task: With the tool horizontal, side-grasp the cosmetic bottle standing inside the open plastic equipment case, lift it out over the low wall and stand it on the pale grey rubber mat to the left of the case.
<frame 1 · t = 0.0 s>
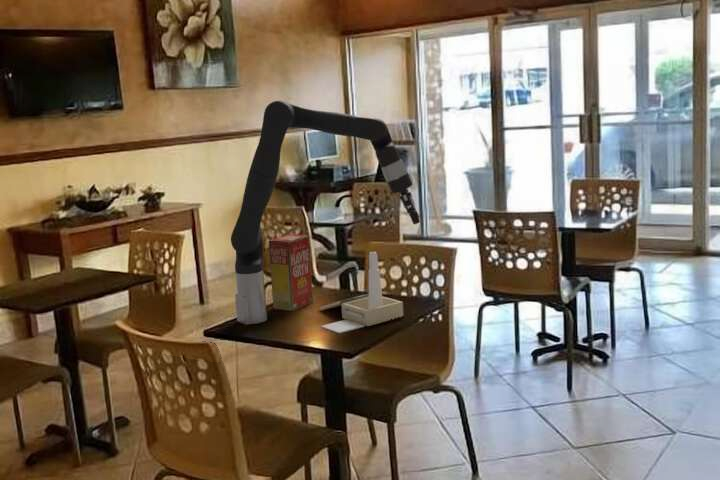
hand: (416, 221, 255), 31 cm above the table, tool tilted 20°, fingers open, 8 cm apart
cosmetic bottle: (376, 317, 260), resting in case
lid: (346, 301, 271), point 3 cm above the table, hinge at 200.0°
case: (372, 317, 260), on the table
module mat: (342, 326, 251), on the table
food packaging: (293, 306, 281), on the table
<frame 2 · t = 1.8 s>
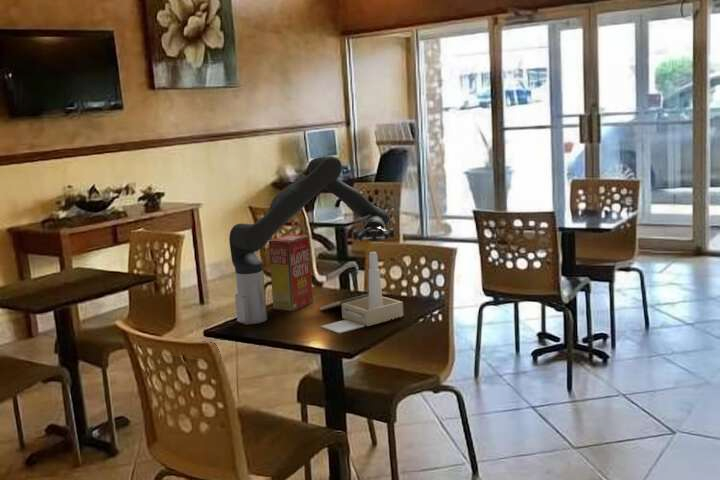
hand: (373, 237, 267), 25 cm above the table, tool horizontal, fingers open, 8 cm apart
nothing on the table moved.
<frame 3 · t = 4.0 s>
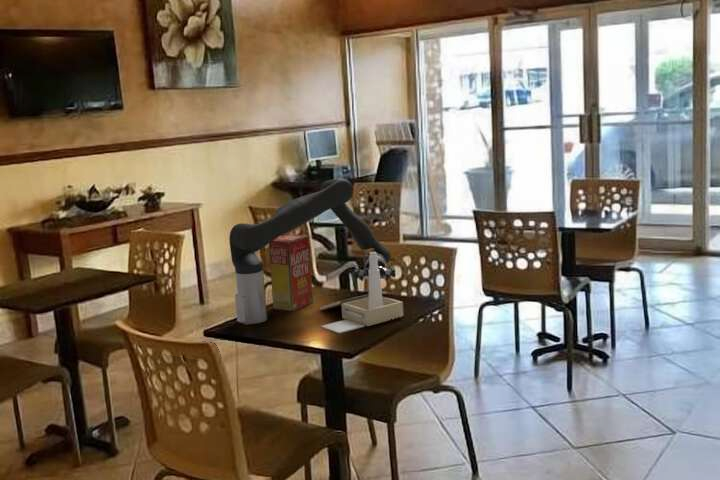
hand: (374, 277, 265), 12 cm above the table, tool horizontal, fingers open, 8 cm apart
nothing on the table moved.
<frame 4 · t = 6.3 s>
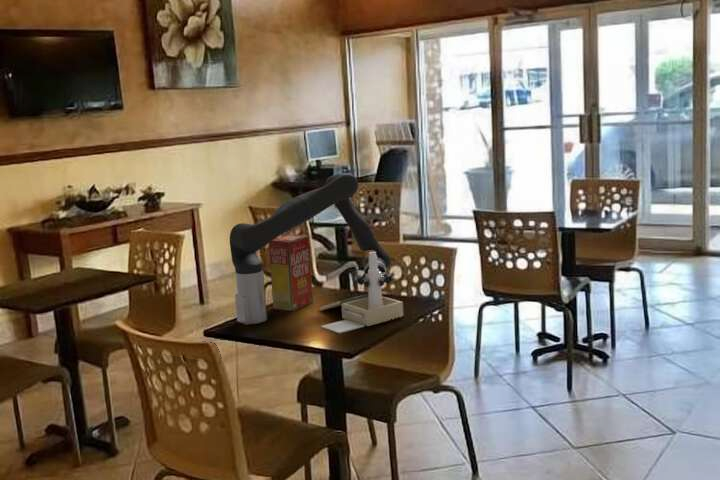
hand: (374, 283, 255), 12 cm above the table, tool horizontal, fingers closed on cosmetic bottle, 4 cm apart
cosmetic bottle: (376, 317, 260), resting in case, touching gripper
everything else where it was.
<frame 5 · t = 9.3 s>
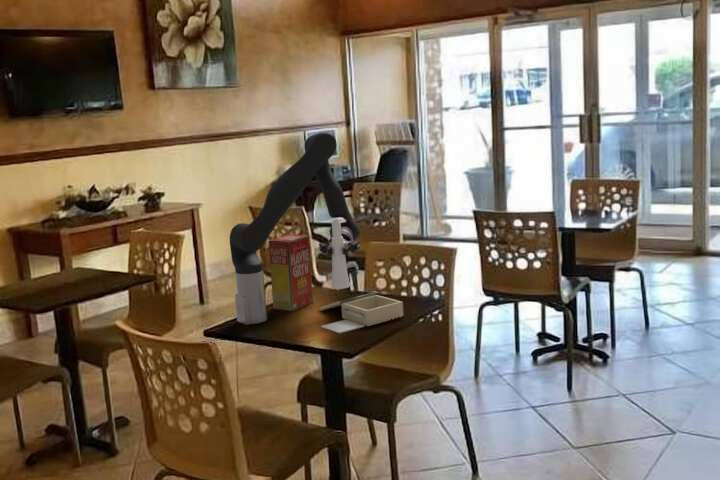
hand: (337, 251, 244), 25 cm above the table, tool horizontal, fingers closed on cosmetic bottle, 4 cm apart
cosmetic bottle: (340, 287, 249), point 13 cm above the table, touching gripper
everything else where it was.
when the fingers open (12 cm above the table, at t = 12.5 s): cosmetic bottle stays where it is, resting on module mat.
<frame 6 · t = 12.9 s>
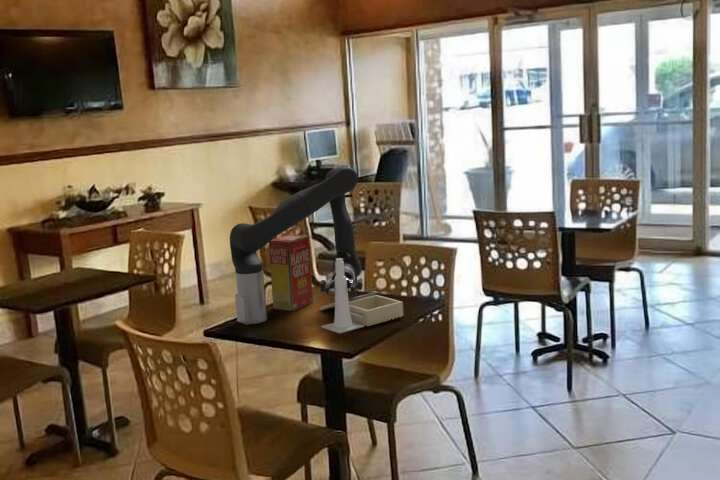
hand: (339, 290, 246), 13 cm above the table, tool horizontal, fingers open, 7 cm apart
cosmetic bottle: (343, 325, 251), resting on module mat
everything else where it was.
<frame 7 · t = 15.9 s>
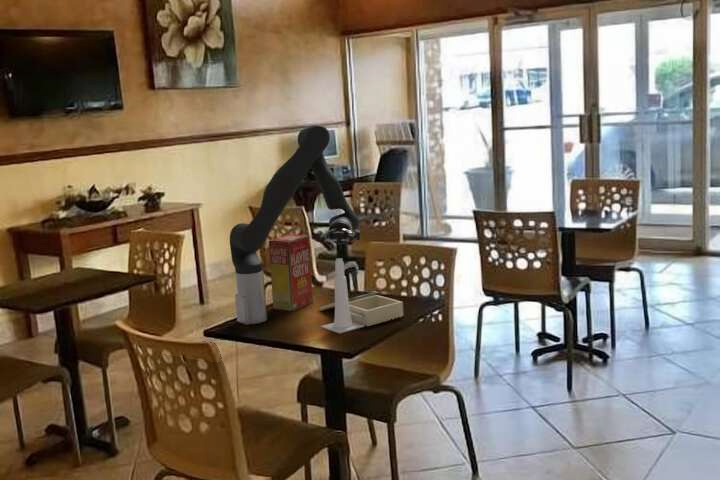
hand: (336, 239, 244), 29 cm above the table, tool horizontal, fingers open, 8 cm apart
nothing on the table moved.
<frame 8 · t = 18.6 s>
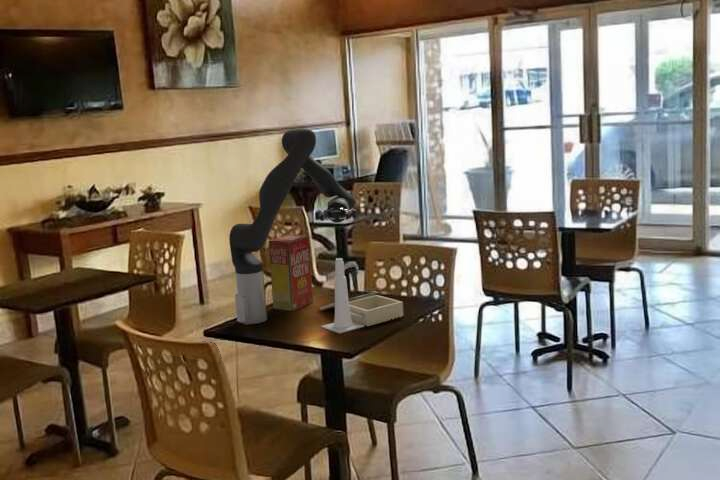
hand: (334, 217, 263), 33 cm above the table, tool horizontal, fingers open, 8 cm apart
nothing on the table moved.
at the end: cosmetic bottle 0.3 cm from the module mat (horizontally); cosmetic bottle tilted 0°; the gripper is holding nothing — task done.
